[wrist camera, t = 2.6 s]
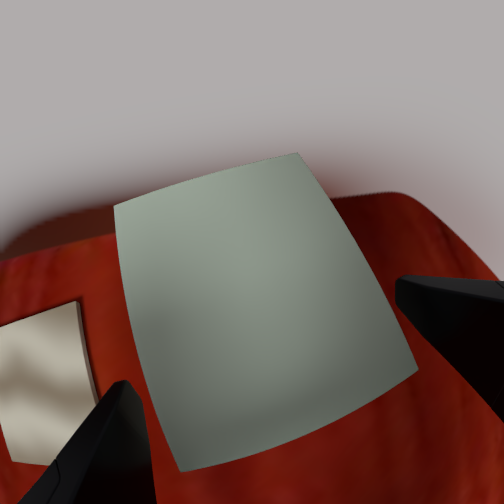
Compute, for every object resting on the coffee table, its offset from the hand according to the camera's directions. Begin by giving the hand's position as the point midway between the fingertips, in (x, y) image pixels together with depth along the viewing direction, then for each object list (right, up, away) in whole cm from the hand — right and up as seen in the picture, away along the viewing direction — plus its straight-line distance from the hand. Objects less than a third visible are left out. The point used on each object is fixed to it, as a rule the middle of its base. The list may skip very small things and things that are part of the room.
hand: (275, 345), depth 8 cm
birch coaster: (-17, -8, +6) cm, 20 cm away
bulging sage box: (-1, -3, +9) cm, 9 cm away
